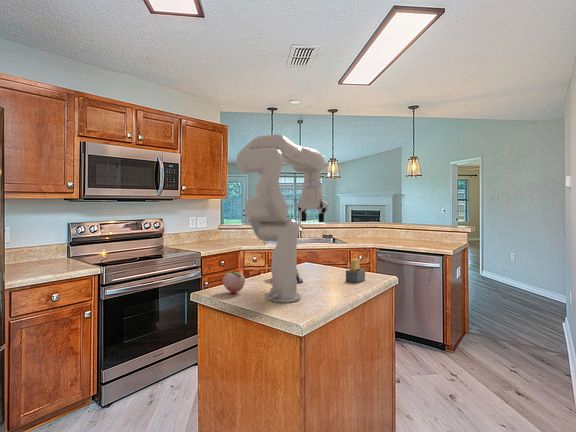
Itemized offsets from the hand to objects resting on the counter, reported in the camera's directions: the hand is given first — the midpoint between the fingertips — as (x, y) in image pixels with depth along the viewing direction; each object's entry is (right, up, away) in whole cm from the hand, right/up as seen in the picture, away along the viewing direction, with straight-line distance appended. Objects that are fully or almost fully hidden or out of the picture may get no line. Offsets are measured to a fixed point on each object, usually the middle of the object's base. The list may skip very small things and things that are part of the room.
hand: (312, 221), depth 156 cm
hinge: (-12, -29, +4) cm, 31 cm away
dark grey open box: (+21, -28, +4) cm, 35 cm away
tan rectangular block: (+21, -28, +4) cm, 35 cm away
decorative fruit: (-33, -30, -16) cm, 48 cm away
